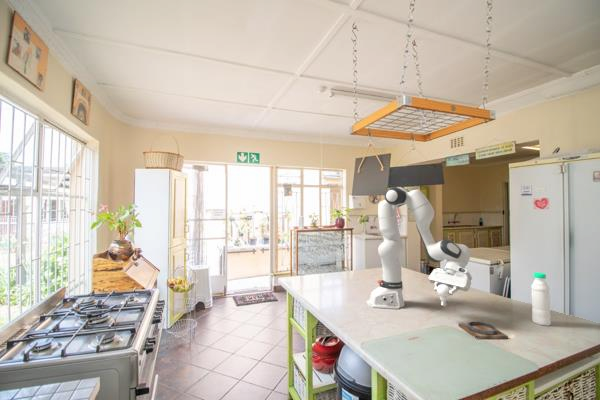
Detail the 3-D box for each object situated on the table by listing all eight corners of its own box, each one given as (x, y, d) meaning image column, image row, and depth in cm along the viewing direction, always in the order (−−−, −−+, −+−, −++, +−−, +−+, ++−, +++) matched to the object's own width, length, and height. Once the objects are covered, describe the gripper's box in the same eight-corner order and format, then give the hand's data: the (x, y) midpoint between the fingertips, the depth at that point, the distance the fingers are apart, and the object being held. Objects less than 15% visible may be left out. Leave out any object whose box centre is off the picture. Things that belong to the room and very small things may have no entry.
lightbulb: (450, 309, 139) (450, 286, 139) (436, 306, 142) (436, 284, 143) (451, 305, 144) (451, 284, 145) (437, 303, 148) (437, 282, 148)
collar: (477, 334, 125) (476, 331, 125) (462, 324, 136) (462, 321, 136) (503, 334, 125) (503, 331, 125) (486, 324, 136) (486, 321, 136)
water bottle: (546, 327, 135) (544, 275, 136) (529, 322, 142) (527, 272, 143) (553, 324, 138) (551, 273, 140) (536, 319, 145) (534, 271, 146)
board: (476, 338, 124) (475, 336, 124) (458, 325, 138) (458, 323, 138) (507, 338, 123) (507, 336, 123) (487, 325, 137) (487, 323, 137)
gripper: (432, 263, 156) (421, 283, 151) (471, 271, 139) (460, 293, 133) (437, 271, 158) (426, 291, 153) (475, 278, 141) (465, 301, 136)
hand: (442, 292), depth 143 cm, fingers closed on lightbulb, 6 cm apart
